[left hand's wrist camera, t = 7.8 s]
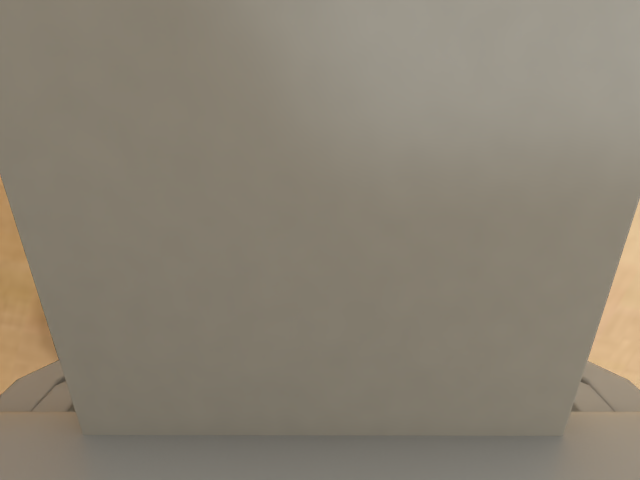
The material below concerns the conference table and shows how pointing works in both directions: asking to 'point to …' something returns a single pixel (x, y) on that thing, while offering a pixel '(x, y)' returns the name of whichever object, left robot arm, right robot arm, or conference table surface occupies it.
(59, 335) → the box
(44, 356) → the conference table surface
